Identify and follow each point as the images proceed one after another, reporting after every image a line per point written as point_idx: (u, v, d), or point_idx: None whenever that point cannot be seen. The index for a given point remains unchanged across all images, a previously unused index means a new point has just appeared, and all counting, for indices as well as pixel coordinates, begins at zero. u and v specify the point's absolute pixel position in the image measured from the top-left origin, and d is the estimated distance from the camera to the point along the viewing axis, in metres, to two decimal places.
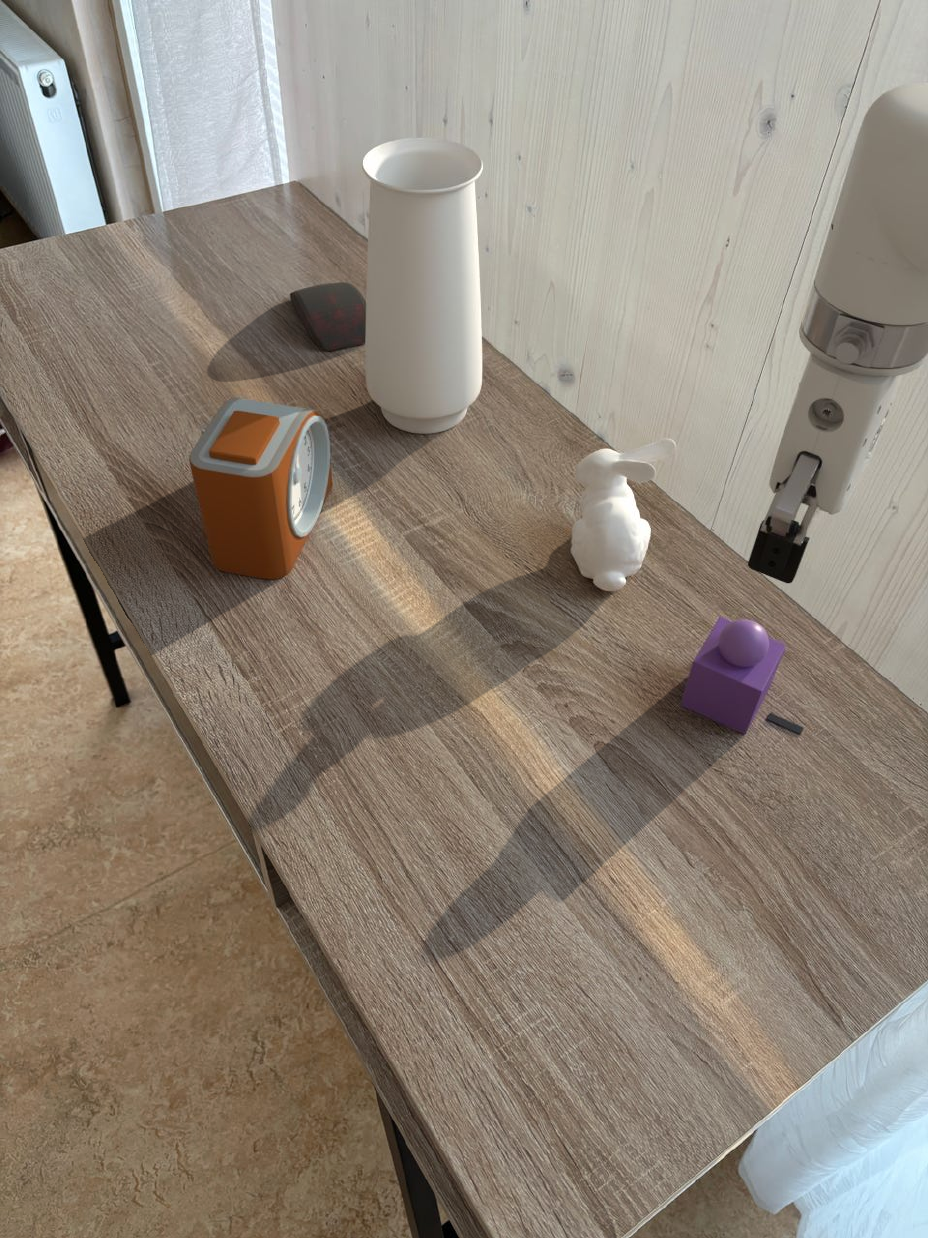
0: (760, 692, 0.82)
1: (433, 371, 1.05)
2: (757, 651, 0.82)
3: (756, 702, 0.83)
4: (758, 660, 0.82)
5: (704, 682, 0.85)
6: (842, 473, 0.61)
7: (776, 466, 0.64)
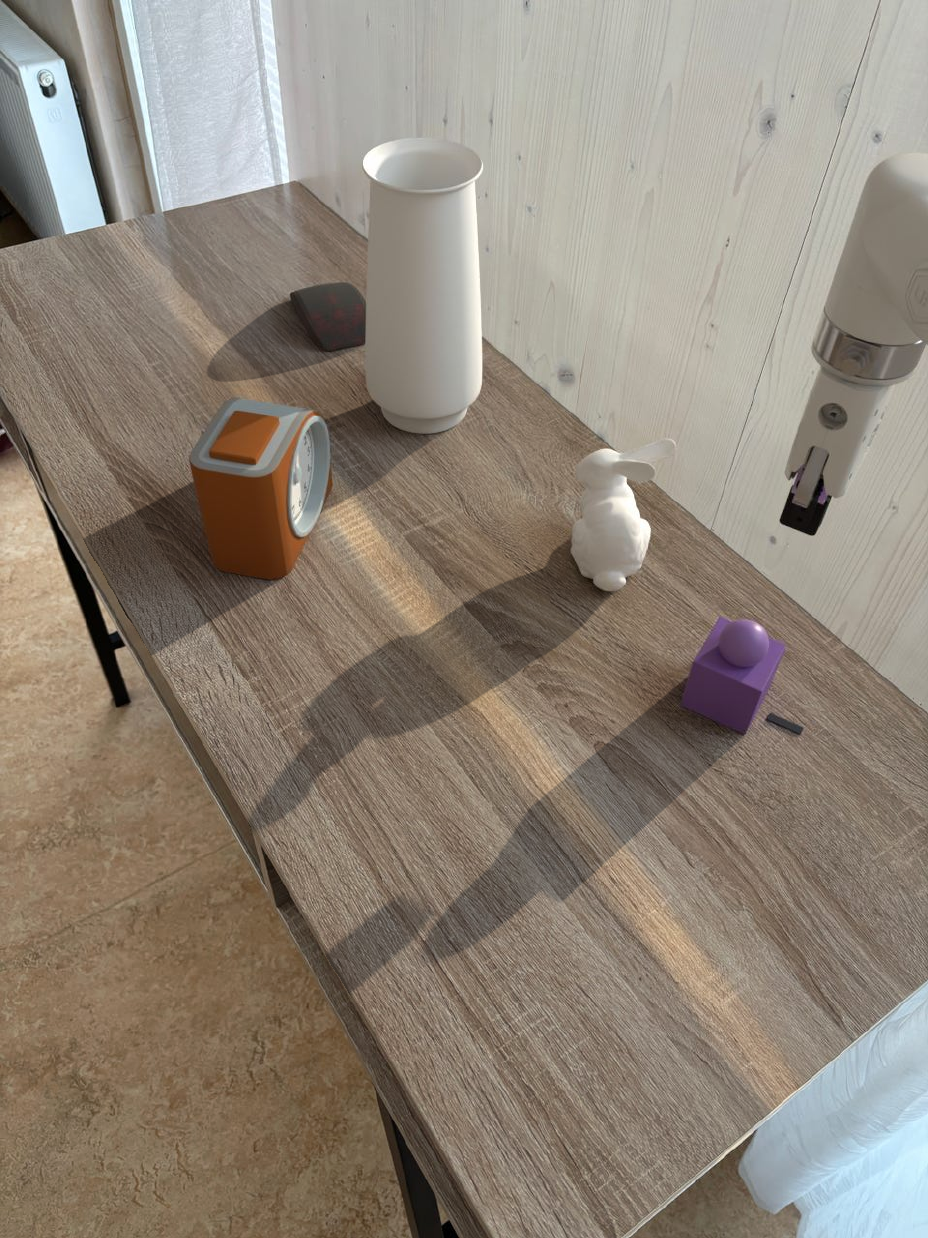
0: (760, 692, 0.82)
1: (433, 371, 1.05)
2: (757, 651, 0.82)
3: (756, 702, 0.83)
4: (758, 660, 0.82)
5: (704, 682, 0.85)
6: (845, 464, 0.75)
7: (791, 458, 0.77)
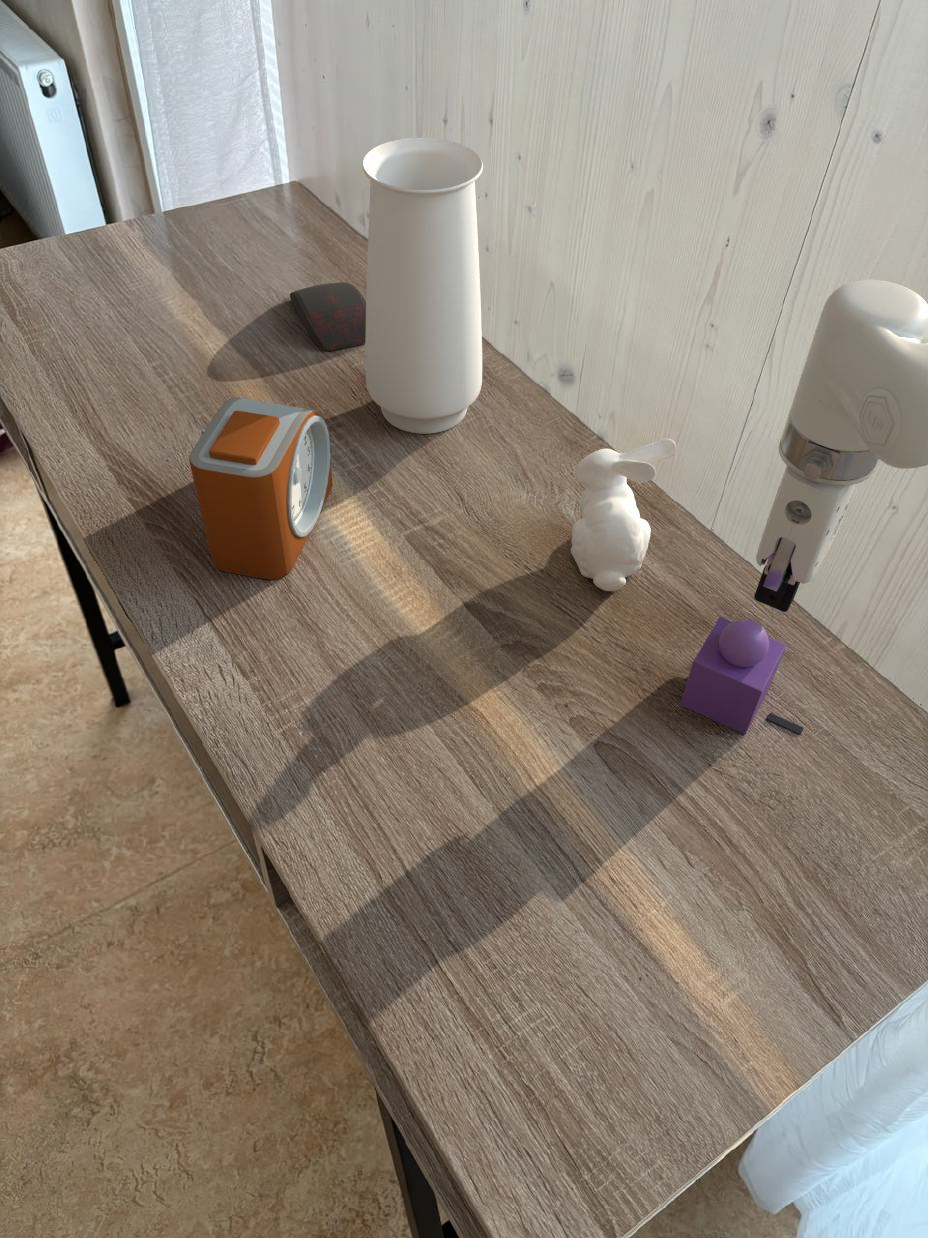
0: (760, 692, 0.82)
1: (433, 371, 1.05)
2: (757, 651, 0.82)
3: (756, 702, 0.83)
4: (758, 660, 0.82)
5: (704, 682, 0.85)
6: (811, 555, 0.81)
7: (761, 547, 0.83)
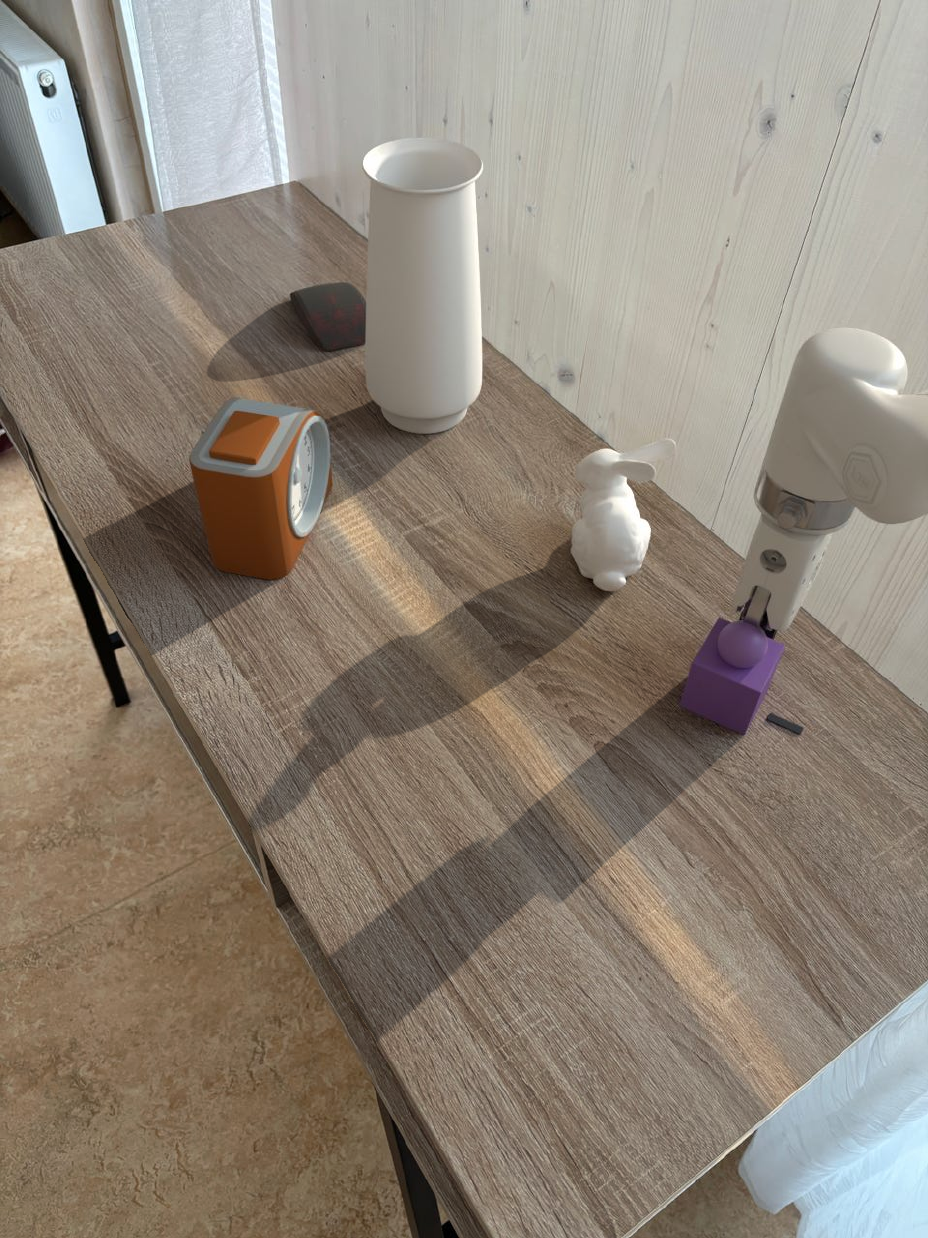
0: (759, 693, 0.82)
1: (433, 371, 1.05)
2: (755, 652, 0.82)
3: (755, 703, 0.83)
4: (757, 661, 0.82)
5: (703, 683, 0.85)
6: (786, 603, 0.79)
7: (736, 594, 0.81)
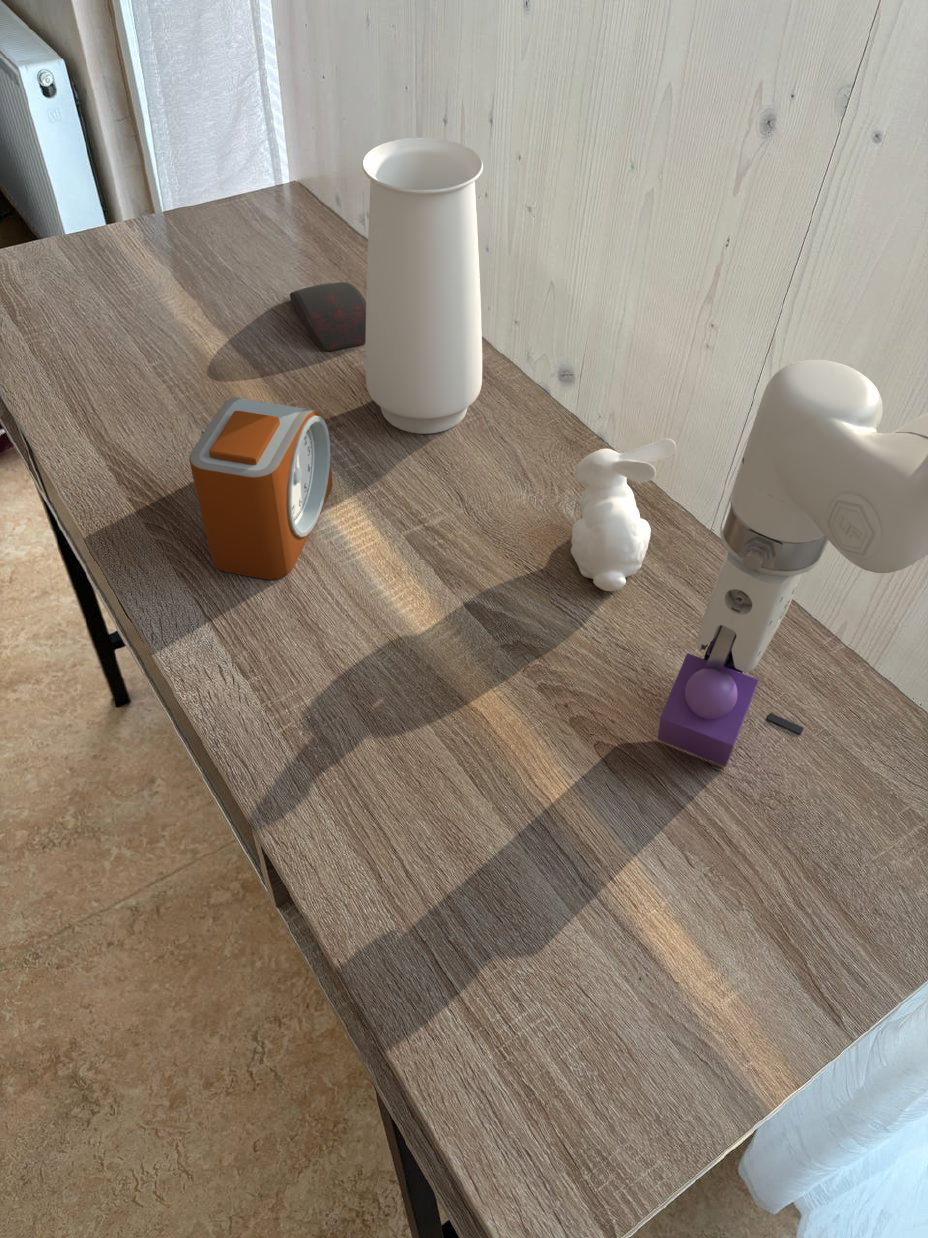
0: (731, 746, 0.79)
1: (433, 371, 1.05)
2: (723, 708, 0.78)
3: (730, 751, 0.80)
4: (727, 713, 0.78)
5: (675, 731, 0.82)
6: (752, 645, 0.75)
7: (701, 632, 0.77)
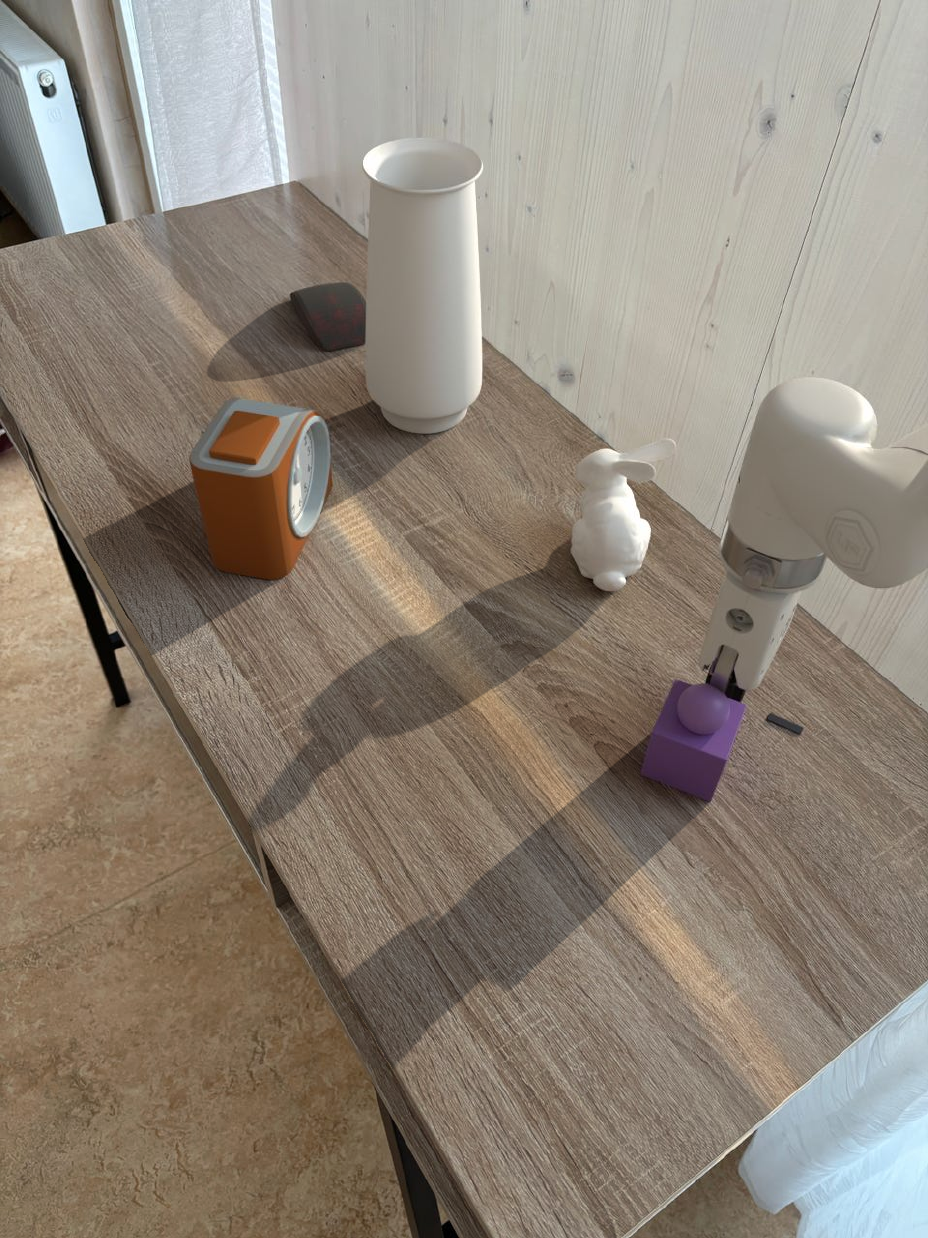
0: (724, 761, 0.77)
1: (433, 371, 1.05)
2: (718, 718, 0.77)
3: (721, 771, 0.78)
4: (720, 727, 0.78)
5: (664, 752, 0.80)
6: (755, 664, 0.75)
7: (703, 652, 0.77)
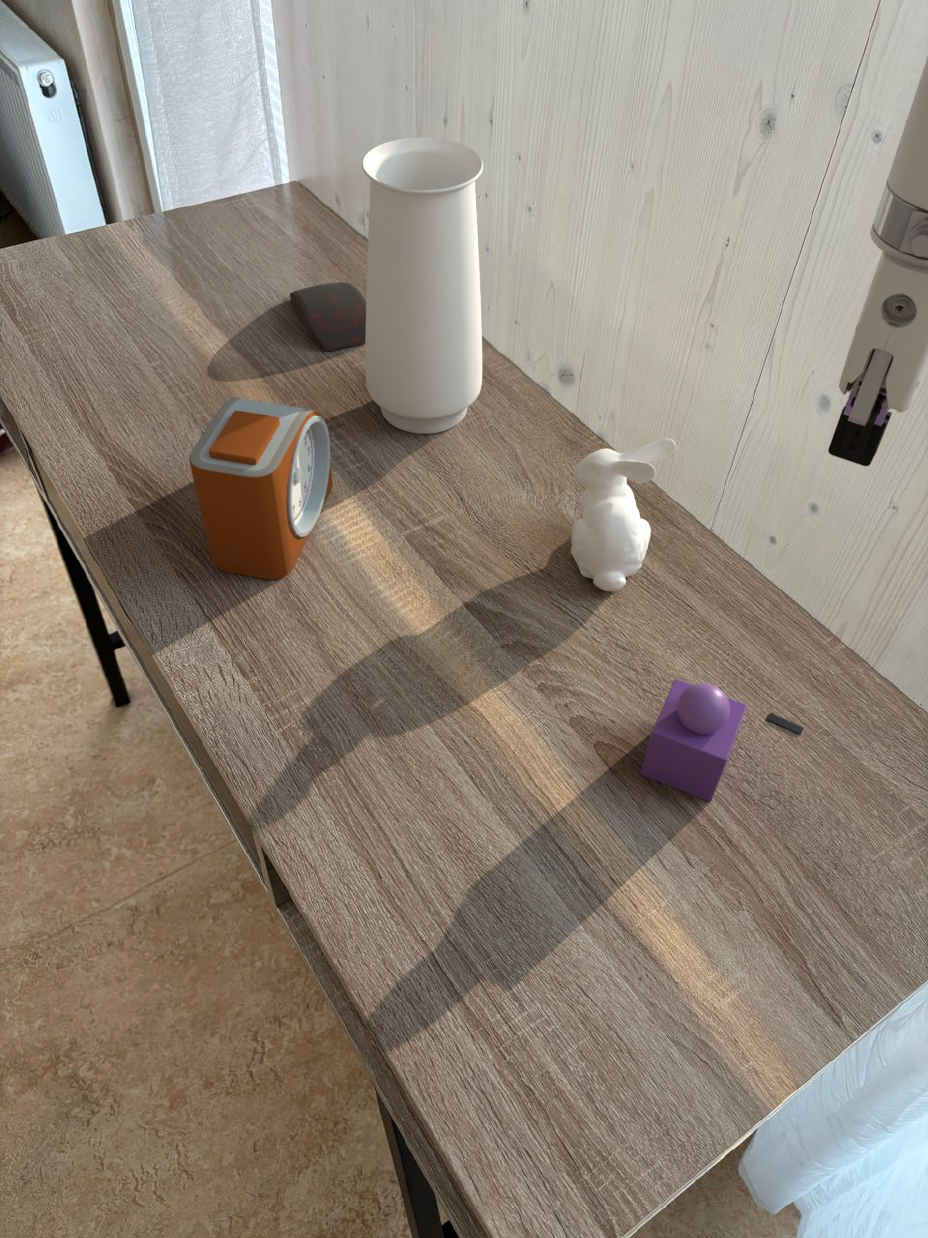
0: (724, 761, 0.77)
1: (433, 371, 1.05)
2: (718, 718, 0.77)
3: (721, 771, 0.78)
4: (720, 727, 0.78)
5: (664, 752, 0.80)
6: (912, 368, 0.65)
7: (847, 366, 0.67)
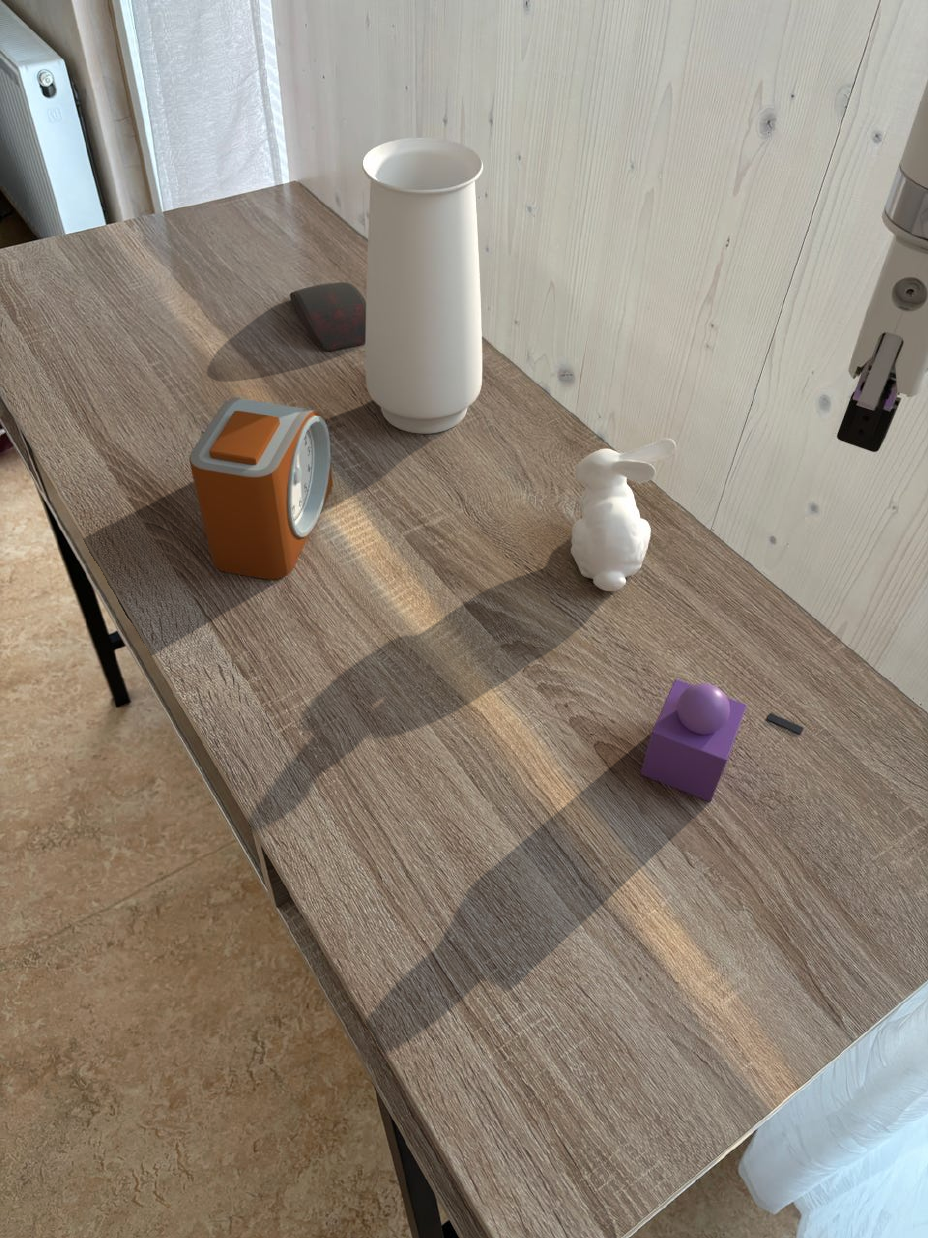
0: (724, 761, 0.77)
1: (433, 371, 1.05)
2: (718, 718, 0.77)
3: (721, 771, 0.78)
4: (720, 727, 0.78)
5: (664, 752, 0.80)
6: (922, 353, 0.65)
7: (857, 350, 0.67)
